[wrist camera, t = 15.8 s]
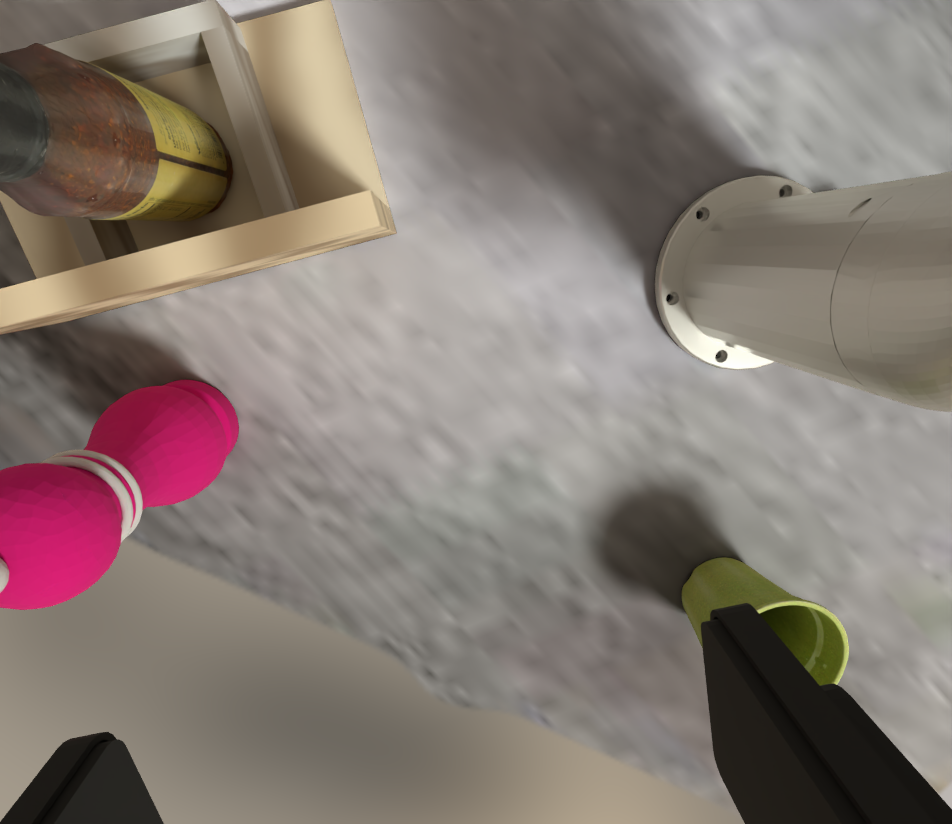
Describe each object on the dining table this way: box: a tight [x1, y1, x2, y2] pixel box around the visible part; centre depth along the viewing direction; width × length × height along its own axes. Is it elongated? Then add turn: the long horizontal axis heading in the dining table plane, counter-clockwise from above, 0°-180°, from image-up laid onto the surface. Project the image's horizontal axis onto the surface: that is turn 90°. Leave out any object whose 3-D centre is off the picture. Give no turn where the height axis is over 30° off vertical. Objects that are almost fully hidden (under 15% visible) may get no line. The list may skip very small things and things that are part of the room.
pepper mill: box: [0, 380, 239, 610], centre depth 29 cm, size 7×7×20 cm
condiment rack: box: [0, 0, 397, 335], centre depth 29 cm, size 22×13×12 cm, turn 104°
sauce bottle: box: [0, 43, 233, 221], centre depth 24 cm, size 7×6×20 cm
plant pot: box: [682, 558, 849, 685], centre depth 41 cm, size 9×9×9 cm
